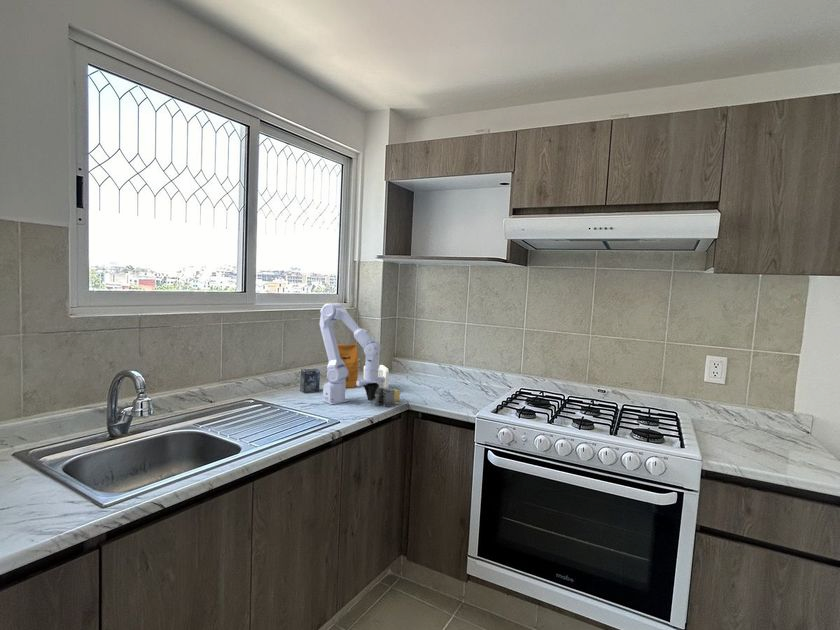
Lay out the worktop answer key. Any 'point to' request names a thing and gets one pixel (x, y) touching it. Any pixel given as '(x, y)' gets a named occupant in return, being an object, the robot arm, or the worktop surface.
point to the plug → (377, 401)
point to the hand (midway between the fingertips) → (370, 400)
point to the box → (310, 380)
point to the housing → (386, 396)
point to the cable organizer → (381, 375)
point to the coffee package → (350, 363)
